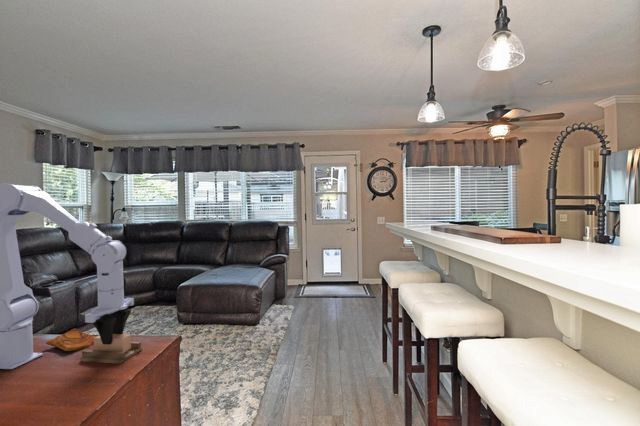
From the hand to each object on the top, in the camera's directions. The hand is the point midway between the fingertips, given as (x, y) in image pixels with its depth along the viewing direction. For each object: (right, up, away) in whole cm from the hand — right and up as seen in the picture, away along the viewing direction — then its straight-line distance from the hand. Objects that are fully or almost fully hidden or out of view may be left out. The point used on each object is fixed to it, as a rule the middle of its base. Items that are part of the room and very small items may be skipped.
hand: (112, 341), depth 88 cm
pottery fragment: (-15, -4, +7) cm, 17 cm away
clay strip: (0, -2, 0) cm, 2 cm away
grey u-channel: (0, -4, 0) cm, 4 cm away
